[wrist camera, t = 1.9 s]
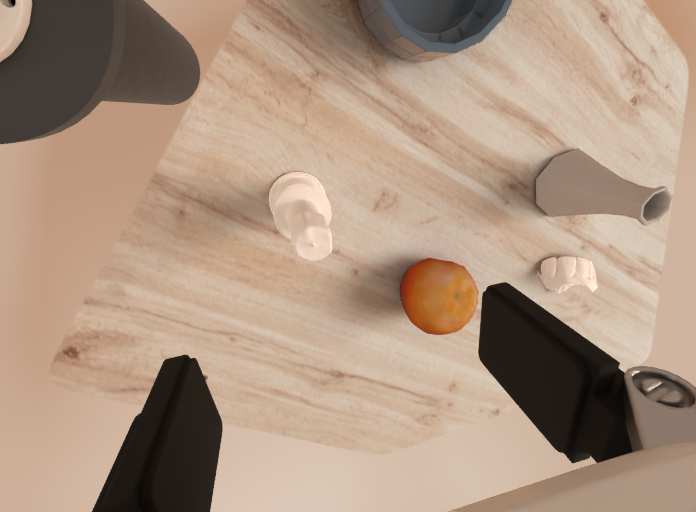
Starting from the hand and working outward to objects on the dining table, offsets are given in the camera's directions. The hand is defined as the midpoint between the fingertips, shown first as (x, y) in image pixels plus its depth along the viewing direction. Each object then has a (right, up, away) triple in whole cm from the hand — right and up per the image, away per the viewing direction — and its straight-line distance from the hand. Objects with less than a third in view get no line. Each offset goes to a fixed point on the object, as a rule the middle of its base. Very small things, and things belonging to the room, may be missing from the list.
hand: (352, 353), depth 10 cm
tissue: (+27, +1, +32) cm, 42 cm away
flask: (+24, +11, +26) cm, 37 cm away
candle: (-5, +8, +20) cm, 22 cm away
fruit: (+9, 0, +27) cm, 29 cm away
